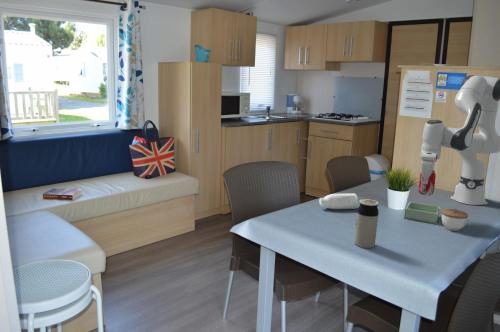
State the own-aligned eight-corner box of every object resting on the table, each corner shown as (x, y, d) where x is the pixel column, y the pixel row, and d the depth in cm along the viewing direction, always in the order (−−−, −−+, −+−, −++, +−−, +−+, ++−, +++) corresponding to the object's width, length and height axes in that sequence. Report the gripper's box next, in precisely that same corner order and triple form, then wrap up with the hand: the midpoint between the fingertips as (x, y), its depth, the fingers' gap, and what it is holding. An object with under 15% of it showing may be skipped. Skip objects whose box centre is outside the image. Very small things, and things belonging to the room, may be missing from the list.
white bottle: (316, 207, 215) (317, 192, 214) (350, 206, 219) (351, 191, 218) (322, 211, 208) (323, 196, 206) (357, 210, 212) (358, 195, 210)
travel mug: (378, 244, 168) (382, 202, 164) (369, 250, 162) (373, 206, 159) (360, 239, 173) (364, 197, 170) (350, 244, 168) (355, 201, 164)
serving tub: (408, 210, 215) (409, 201, 214) (438, 216, 208) (440, 206, 207) (404, 218, 203) (405, 208, 202) (436, 224, 196) (437, 214, 195)
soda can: (434, 197, 200) (437, 173, 196) (419, 195, 201) (421, 172, 198) (431, 192, 206) (434, 169, 203) (416, 191, 208) (419, 168, 204)
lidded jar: (434, 225, 194) (437, 206, 192) (452, 223, 198) (454, 204, 196) (452, 233, 184) (455, 213, 182) (470, 231, 188) (474, 211, 186)
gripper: (425, 150, 209) (422, 177, 212) (420, 156, 192) (416, 185, 194) (439, 152, 206) (435, 179, 209) (435, 158, 189) (431, 187, 192)
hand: (426, 182), depth 202 cm, fingers closed on soda can, 6 cm apart
